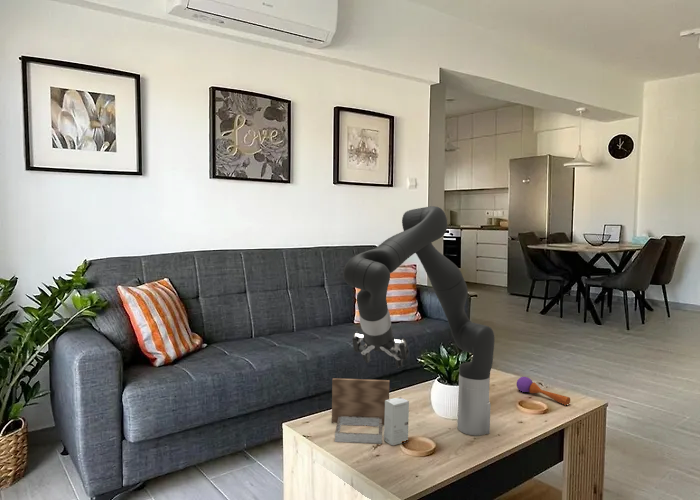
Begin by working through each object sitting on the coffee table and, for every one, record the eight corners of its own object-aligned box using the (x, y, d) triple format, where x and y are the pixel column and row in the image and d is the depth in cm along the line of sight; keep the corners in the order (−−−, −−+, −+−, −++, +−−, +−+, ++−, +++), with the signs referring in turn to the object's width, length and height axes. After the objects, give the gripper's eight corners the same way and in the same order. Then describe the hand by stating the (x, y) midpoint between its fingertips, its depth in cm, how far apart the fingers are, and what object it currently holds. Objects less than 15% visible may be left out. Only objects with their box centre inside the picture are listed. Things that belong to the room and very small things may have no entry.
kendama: (563, 397, 173) (513, 377, 189) (563, 412, 175) (513, 392, 190) (572, 391, 177) (522, 372, 192) (572, 405, 178) (522, 386, 194)
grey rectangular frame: (381, 425, 157) (381, 417, 157) (381, 443, 145) (381, 435, 144) (338, 423, 158) (338, 415, 158) (334, 441, 145) (335, 433, 145)
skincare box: (392, 446, 143) (393, 405, 142) (383, 440, 147) (383, 400, 146) (409, 441, 146) (410, 401, 146) (399, 435, 150) (400, 396, 149)
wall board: (388, 419, 162) (389, 376, 161) (388, 424, 157) (389, 381, 156) (333, 417, 163) (333, 374, 162) (331, 422, 159) (332, 379, 158)
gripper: (407, 315, 124) (412, 355, 134) (353, 308, 129) (362, 347, 139) (400, 338, 119) (406, 378, 129) (344, 330, 123) (354, 370, 134)
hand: (383, 362), depth 134 cm, fingers open, 8 cm apart
